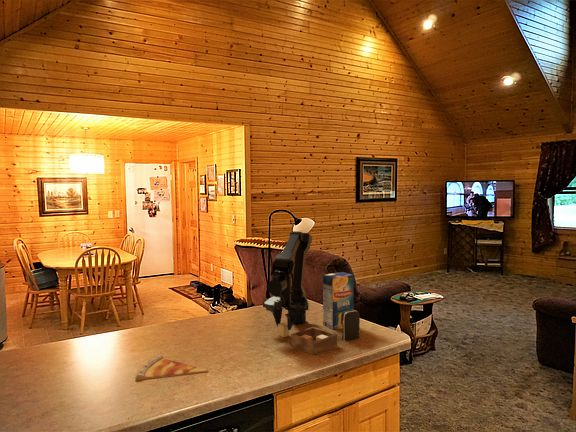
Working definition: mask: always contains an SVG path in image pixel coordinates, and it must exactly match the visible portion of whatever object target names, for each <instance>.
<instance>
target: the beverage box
mask: <svg viewBox="0 0 576 432" xmlns="http://www.w3.org/2000/svg"><path fill="white" fill-rule="evenodd" d="M354 276H355V275H354V274H352V273H348V272H344V271H339V272H334V273H328V274H322V325H323V326H324V327H326V328H329V329H330V330H337V329H341V330H343V325H342V324H341V314H342V312H343V311H347V310H354V288H355V287H354V284H355V283H354V282H355V281H354V279H355V277H354Z"/></svg>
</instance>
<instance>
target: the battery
mask: <svg viewBox="0 0 576 432" xmlns="http://www.w3.org/2000/svg"><path fill="white" fill-rule="evenodd" d="M360 316H361V315H360V312H359V311H358V310H356V309H353V310H347V311H343V312H342V314H341V324H342V325H343V329H342V337H341V340H342V341H345V342H348V341H353V340H354V341H355V340H358V339H360V325H361V324H360V323H361V322H360V321H361V317H360Z"/></svg>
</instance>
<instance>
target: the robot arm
mask: <svg viewBox="0 0 576 432" xmlns="http://www.w3.org/2000/svg"><path fill="white" fill-rule="evenodd" d="M312 241H313V235H311V233H310V232H302V231H295V230H293V231H290V233H289V237H288V240H287V242H286V243H285V246H284V248H283V250H282V251H281V252H279V253H278V254H276V256H275V258H274V259H273V261H272V265H271V271H270V277H271V276H272V278H271V279H272V280H270V281H269V282H268V283H267V286H266V288H267V291H268V292H269V294H271V296H272V297H269V298H266V299H263V302H262V307H263V308H265V310H266V311H267V312H270V313H272V316H273V319H274V322H275V324H276V326H277V327H278V324H280V323H282V322H281V321H282V316H283V310H285V311H287V313H285V314H284V315H285V317H286V320H287V321H286V323H287V325H288V330H289V331H291V330H292V327H293V326H295V325H296V326H299V325H304V324H308V323H309V322H308V321H307V319H306V318H307V317H306V316H307V315H306V314H307V313H306V311H308V310H309V306H310V305H309V304H310V303H309V301H308V298H307V292H306V291H305V288H304V280H305V279H304V277H305V268H306V267H305V266H306V258H307V257H306V256H307V253H308V252H309V250H310V249H311V244H312Z"/></svg>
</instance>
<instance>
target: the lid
mask: <svg viewBox="0 0 576 432" xmlns="http://www.w3.org/2000/svg"><path fill="white" fill-rule="evenodd" d="M277 329H278V330H277V333H278V334H277V335H278V336H279V337H281V338H286V337H289V336H290V330H288V325H287V322H285V321H284V322H280V324H278V326H277Z"/></svg>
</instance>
